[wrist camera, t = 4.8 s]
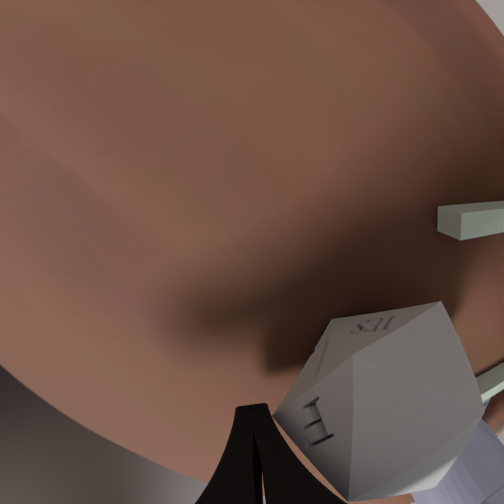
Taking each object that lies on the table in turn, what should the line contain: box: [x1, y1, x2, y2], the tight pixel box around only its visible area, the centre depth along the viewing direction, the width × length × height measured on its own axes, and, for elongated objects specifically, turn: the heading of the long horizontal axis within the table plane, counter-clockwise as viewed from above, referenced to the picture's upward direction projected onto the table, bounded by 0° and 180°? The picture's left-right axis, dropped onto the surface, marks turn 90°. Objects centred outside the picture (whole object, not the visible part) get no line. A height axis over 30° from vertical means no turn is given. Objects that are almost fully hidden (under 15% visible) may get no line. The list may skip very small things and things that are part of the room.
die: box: [272, 301, 485, 502], centre depth 10 cm, size 8×9×10 cm
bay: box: [437, 201, 504, 402], centre depth 13 cm, size 14×12×2 cm
